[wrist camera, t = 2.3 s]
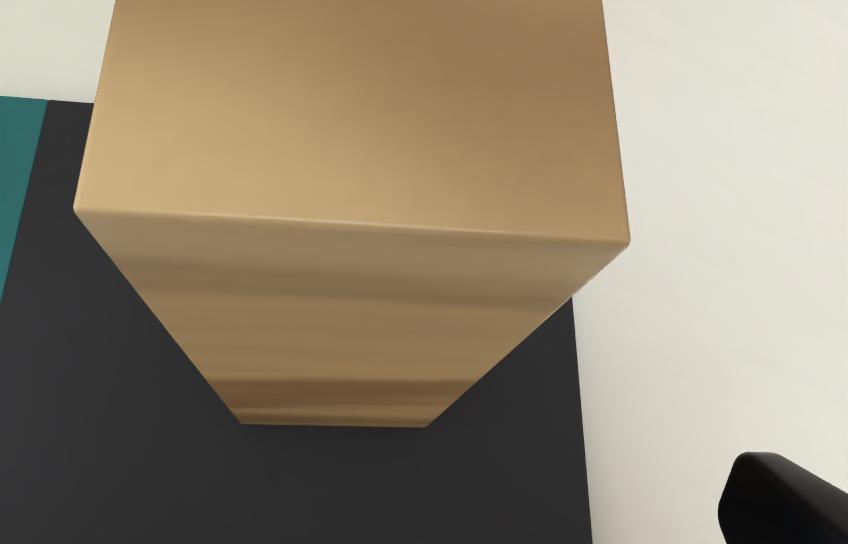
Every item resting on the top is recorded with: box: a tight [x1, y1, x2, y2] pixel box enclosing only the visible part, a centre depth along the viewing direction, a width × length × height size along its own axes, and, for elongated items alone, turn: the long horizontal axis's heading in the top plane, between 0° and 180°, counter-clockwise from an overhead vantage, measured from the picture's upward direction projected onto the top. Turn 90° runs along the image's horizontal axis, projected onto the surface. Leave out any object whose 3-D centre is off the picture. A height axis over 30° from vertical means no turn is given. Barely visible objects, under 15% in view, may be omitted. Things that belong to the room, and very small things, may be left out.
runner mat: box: [0, 96, 592, 544], centre depth 18 cm, size 14×30×1 cm, turn 90°
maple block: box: [73, 0, 630, 428], centre depth 13 cm, size 5×5×13 cm
